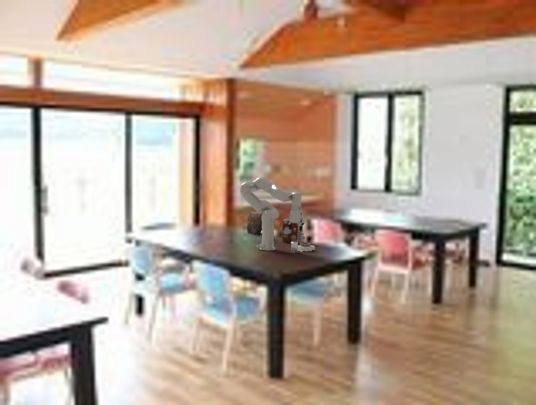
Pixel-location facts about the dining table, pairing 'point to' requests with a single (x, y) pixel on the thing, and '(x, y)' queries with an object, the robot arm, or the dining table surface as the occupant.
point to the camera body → (305, 247)
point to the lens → (294, 246)
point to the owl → (254, 223)
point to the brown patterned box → (291, 232)
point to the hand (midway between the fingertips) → (295, 230)
